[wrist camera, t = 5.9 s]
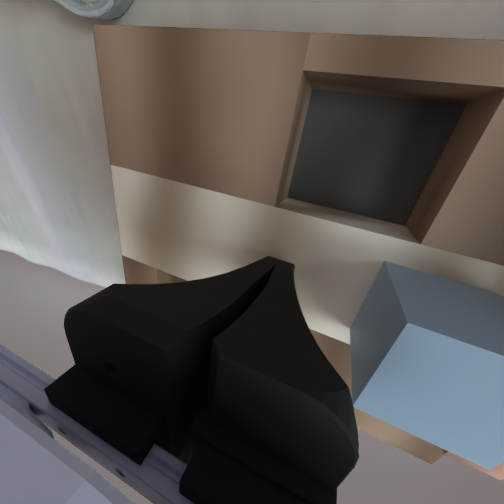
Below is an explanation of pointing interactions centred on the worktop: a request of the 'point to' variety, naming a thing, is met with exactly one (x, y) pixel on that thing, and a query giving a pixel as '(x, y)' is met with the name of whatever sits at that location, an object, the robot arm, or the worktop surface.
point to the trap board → (307, 165)
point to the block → (432, 361)
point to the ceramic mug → (97, 8)
